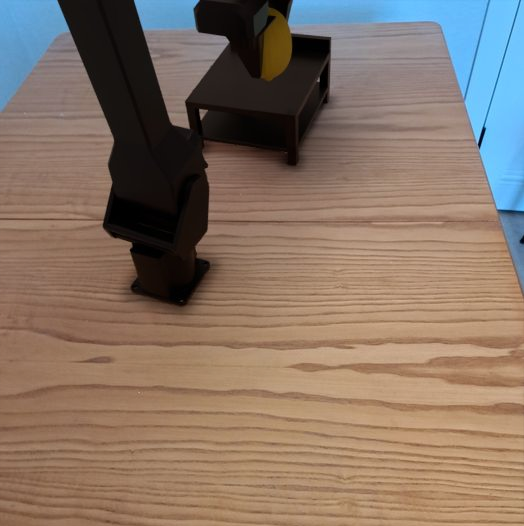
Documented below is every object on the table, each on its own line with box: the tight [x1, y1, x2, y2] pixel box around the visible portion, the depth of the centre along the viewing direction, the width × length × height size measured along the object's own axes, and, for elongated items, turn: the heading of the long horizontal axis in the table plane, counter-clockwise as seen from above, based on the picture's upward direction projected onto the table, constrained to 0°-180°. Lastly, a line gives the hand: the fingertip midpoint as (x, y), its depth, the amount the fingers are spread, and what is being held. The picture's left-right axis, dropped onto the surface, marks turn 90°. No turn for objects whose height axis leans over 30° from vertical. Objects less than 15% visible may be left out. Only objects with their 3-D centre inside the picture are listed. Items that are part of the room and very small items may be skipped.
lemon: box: [261, 7, 292, 81], centre depth 63 cm, size 6×6×8 cm
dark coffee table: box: [184, 32, 332, 167], centre depth 74 cm, size 16×14×8 cm
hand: (266, 64), depth 64 cm, fingers closed on lemon, 5 cm apart
